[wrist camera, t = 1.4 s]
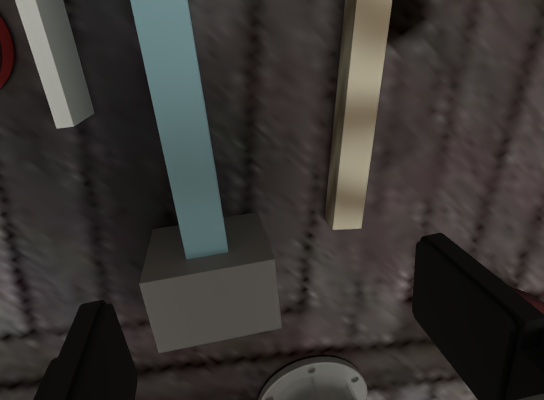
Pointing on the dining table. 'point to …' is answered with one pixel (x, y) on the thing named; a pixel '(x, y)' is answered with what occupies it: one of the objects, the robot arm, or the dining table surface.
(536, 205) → the dining table surface
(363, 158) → the stick
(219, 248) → the teal gray angled bar
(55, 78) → the bay
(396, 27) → the dining table surface
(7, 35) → the canned food
